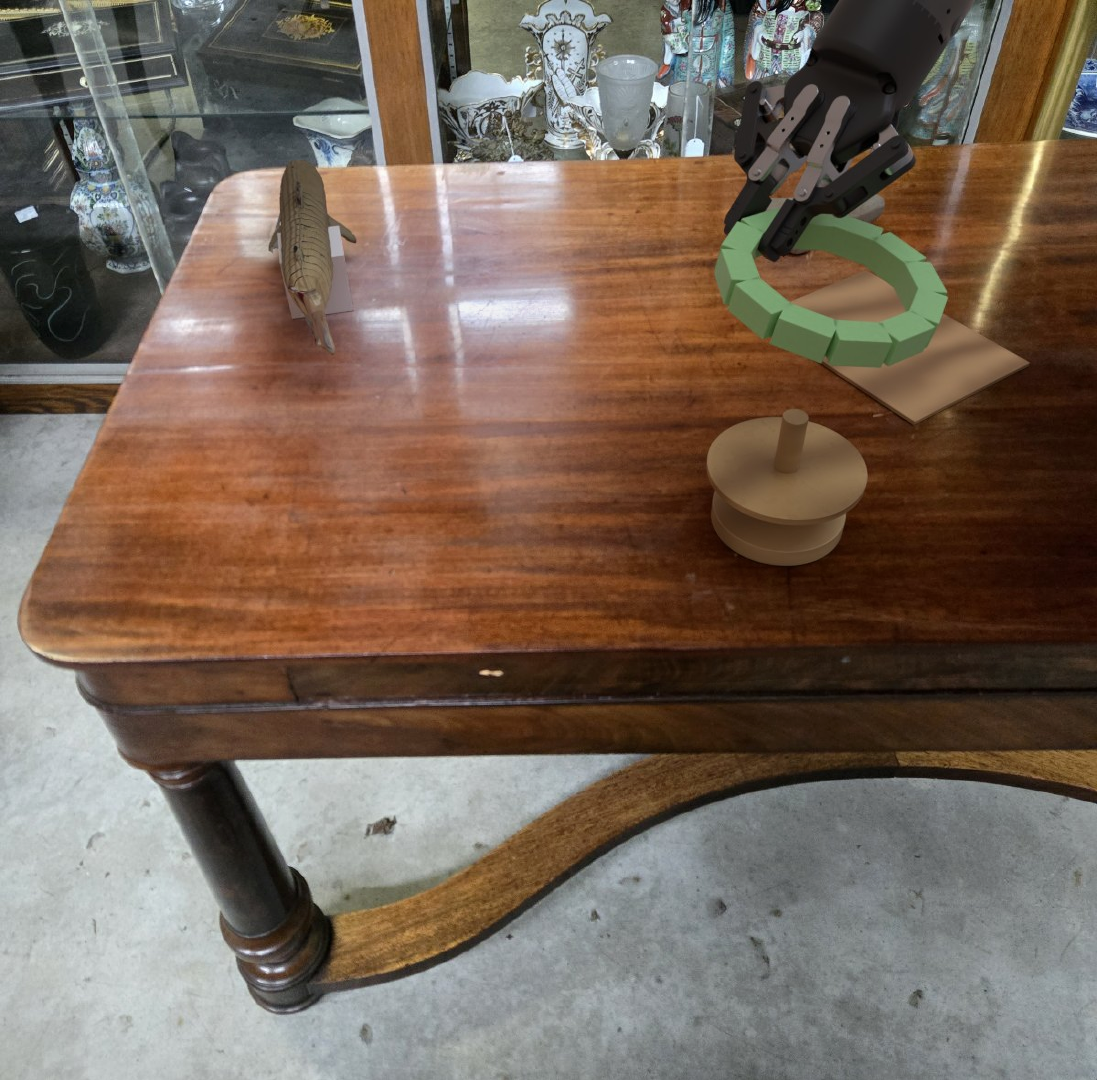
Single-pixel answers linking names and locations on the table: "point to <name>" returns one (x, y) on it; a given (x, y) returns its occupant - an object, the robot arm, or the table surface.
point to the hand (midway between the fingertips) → (749, 246)
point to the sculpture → (863, 212)
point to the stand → (783, 488)
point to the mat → (926, 378)
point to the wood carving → (311, 251)
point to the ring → (819, 332)
